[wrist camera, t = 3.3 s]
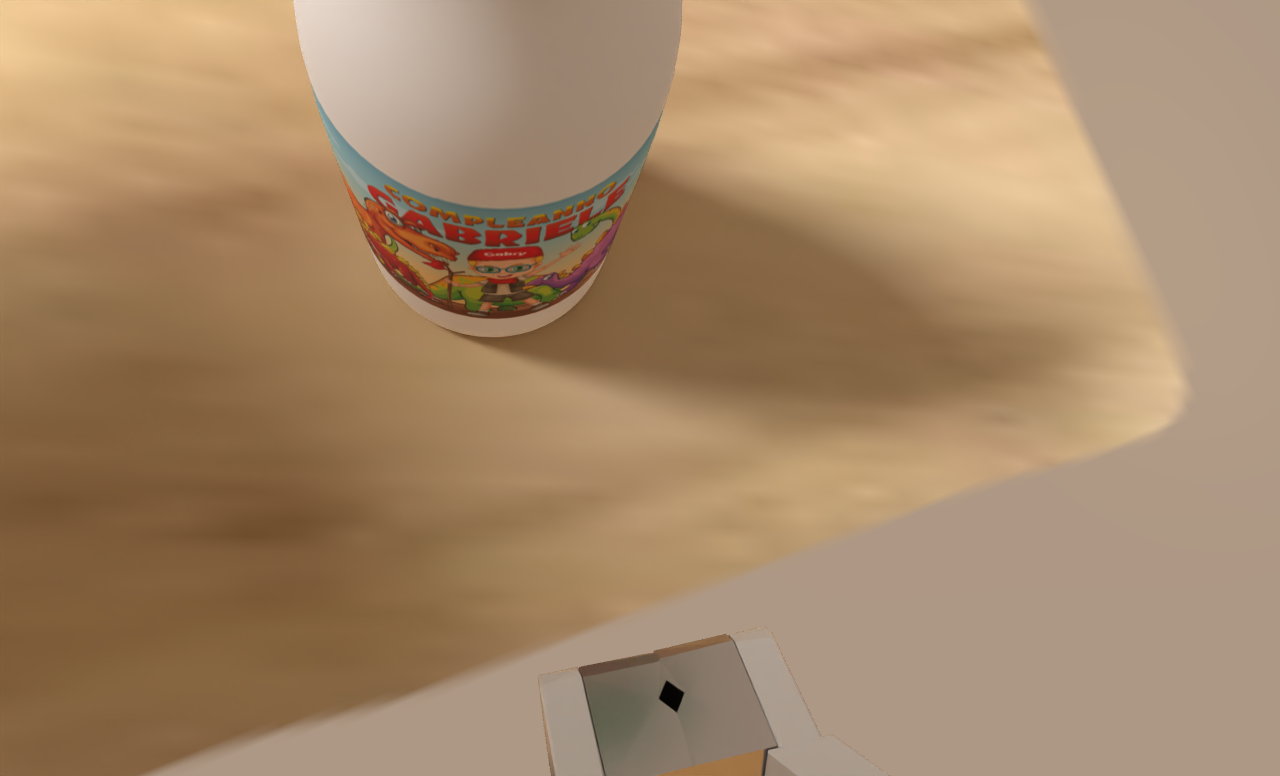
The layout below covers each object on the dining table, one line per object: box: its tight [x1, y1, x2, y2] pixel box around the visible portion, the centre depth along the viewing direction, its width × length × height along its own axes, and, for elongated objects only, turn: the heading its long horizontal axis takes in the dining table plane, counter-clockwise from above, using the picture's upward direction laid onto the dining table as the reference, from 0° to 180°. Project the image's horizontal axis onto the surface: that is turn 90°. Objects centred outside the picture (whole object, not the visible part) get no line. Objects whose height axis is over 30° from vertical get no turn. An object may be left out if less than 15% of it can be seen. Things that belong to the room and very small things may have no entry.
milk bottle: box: [293, 0, 682, 337], centre depth 18 cm, size 8×8×20 cm
